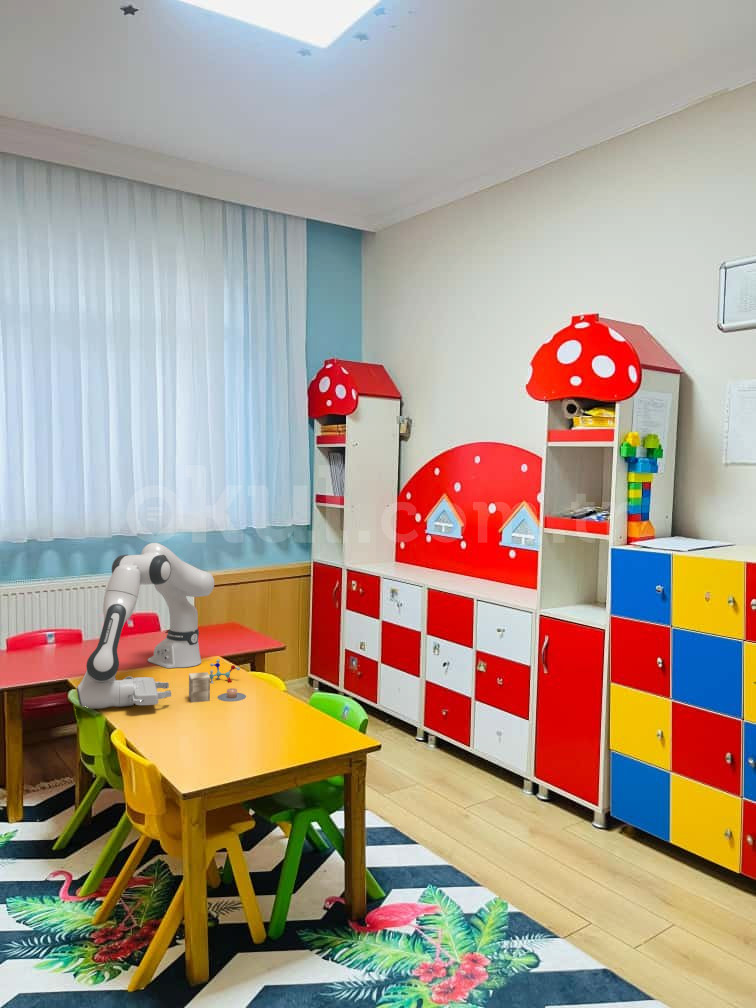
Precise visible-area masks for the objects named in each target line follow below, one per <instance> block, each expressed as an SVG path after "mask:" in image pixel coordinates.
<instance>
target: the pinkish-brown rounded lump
mask: <svg viewBox="0 0 756 1008" xmlns="http://www.w3.org/2000/svg"><path fill="white" fill-rule="evenodd" d="M226 693H227V698H236V697H237V693H238V689H237V688H232V687H231V688H227V689H226Z"/></svg>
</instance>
